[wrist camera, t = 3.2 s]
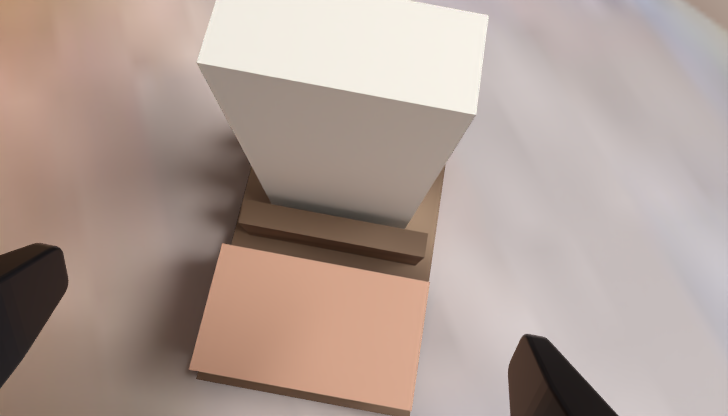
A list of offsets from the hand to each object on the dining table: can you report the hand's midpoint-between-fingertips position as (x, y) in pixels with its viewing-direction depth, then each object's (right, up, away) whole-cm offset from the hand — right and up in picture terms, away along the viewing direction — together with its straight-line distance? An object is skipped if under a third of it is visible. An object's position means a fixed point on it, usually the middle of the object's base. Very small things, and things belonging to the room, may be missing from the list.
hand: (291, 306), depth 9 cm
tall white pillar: (0, +3, +13) cm, 13 cm away
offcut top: (0, -3, +10) cm, 10 cm away
